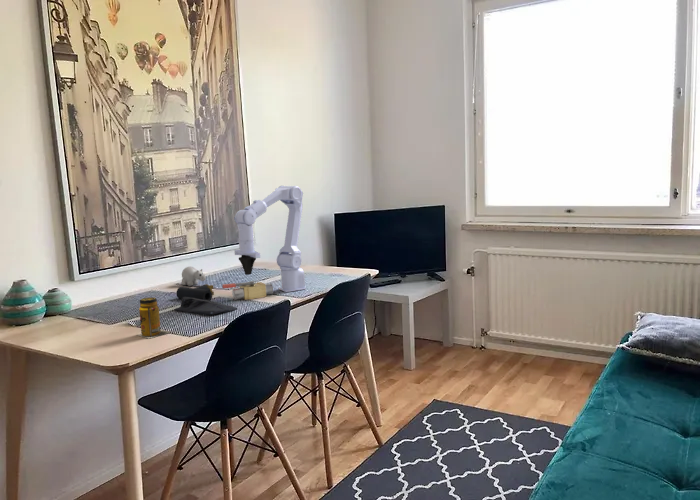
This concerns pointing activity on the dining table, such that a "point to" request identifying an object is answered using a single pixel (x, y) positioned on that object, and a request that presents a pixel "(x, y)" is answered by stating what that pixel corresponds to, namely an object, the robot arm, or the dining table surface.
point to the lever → (238, 284)
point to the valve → (252, 291)
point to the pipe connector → (196, 292)
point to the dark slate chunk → (203, 306)
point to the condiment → (150, 318)
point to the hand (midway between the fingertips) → (248, 274)
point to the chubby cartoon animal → (192, 276)
